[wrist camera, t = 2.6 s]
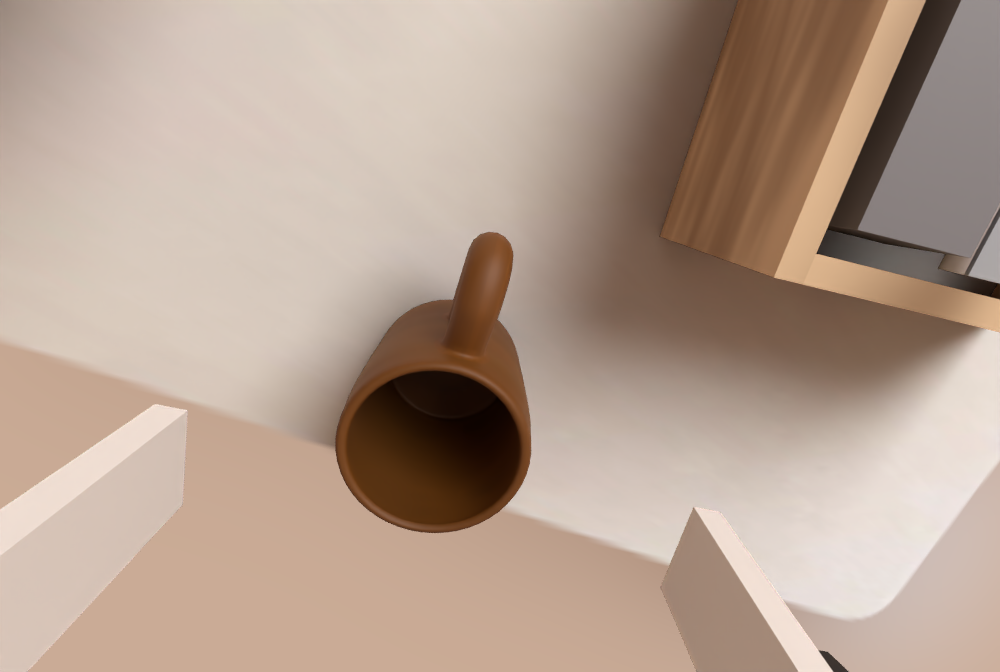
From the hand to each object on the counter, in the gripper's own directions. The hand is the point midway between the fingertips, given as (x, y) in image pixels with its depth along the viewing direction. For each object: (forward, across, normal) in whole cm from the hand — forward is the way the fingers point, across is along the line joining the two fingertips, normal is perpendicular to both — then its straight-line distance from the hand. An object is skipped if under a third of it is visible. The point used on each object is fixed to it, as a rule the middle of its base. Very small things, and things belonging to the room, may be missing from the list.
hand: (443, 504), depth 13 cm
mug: (+15, 0, 0) cm, 15 cm away
